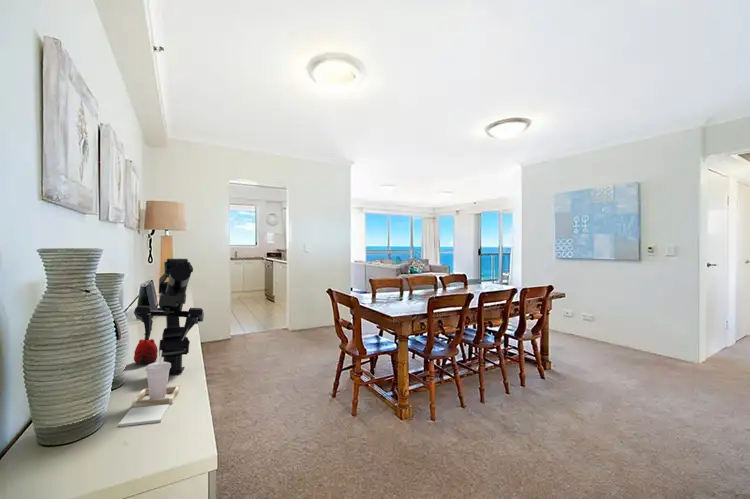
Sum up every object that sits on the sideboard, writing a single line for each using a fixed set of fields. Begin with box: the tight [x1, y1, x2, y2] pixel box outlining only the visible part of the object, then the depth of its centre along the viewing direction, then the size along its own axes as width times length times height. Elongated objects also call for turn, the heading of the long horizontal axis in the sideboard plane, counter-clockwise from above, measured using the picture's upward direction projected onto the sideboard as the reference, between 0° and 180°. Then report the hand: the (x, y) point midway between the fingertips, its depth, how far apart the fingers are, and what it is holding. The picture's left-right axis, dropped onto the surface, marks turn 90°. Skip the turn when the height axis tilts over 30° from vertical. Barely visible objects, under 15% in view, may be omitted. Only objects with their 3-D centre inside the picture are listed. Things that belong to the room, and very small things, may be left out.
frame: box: [131, 385, 181, 408], centre depth 100 cm, size 10×10×2 cm
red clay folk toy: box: [133, 327, 159, 365], centre depth 131 cm, size 8×7×15 cm
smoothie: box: [144, 350, 171, 399], centre depth 100 cm, size 6×6×14 cm
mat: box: [117, 404, 171, 427], centre depth 89 cm, size 9×9×1 cm
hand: (164, 340), depth 106 cm, fingers open, 9 cm apart
